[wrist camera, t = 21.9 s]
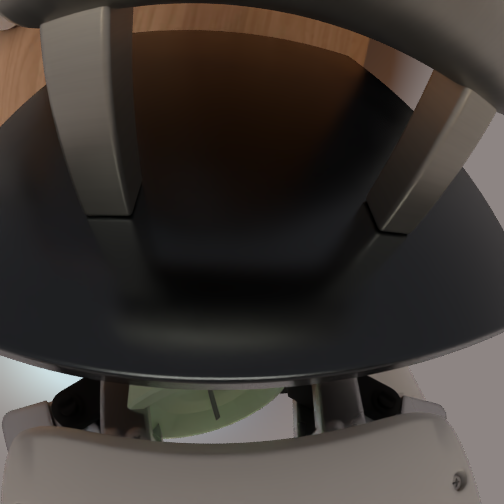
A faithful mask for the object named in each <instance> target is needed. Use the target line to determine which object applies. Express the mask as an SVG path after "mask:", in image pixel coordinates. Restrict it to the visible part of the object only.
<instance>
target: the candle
mask: <svg viewBox="0 0 504 504" xmlns="http://www.w3.org/2000/svg"><path fill="white" fill-rule="evenodd" d="M283 389H284V387H281V388H267V389H247V390H189V389H170V388H156V387H145V386H136V385H129V394H128V404H127V407H128V408H129V409H145V408H146V407H148V406H150V414H151V422H152V430H153V429H154V428H155V427H156V426H157V425H158V423H159V425H160V429H161V432H162V436H163V439H169V438H181V437H188V436H194V435H199V434H203V433H207V432H210V431H214V430H217V429H220V428H223V427H225V426H228V425H231V424H233V423H235V422H237V421H240V420H242V419H244V418H246V417H248V416H249V415H251V414H253V413H255V412H256V411H258V410H260V409H261V408H263V407H264V406H265V405H267V404H268V403H269V402H271V401H272V400H273V399H274V398H275V397H276V396H277V395H278V394H279V393H280V392H281V391H282V390H283Z"/></svg>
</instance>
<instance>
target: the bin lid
mask: <svg viewBox="0 0 504 504" xmlns="http://www.w3.org/2000/svg"><path fill="white" fill-rule="evenodd" d="M173 3H210V4H227V5H239V6H248V7H256V8H262V9H269V10H275V11H280V12H285V13H290V14H295V15H299V16H303V17H307V18H311V19H315V20H319V21H322V22H326V23H329V24H332V25H336V26H339V27H342V28H345V29H348V30H350V31H353V32H356V33H359V34H361V35H364V36H367V37H369V38H372V39H374V40H376V41H379V42H381V43H383V44H386V45H388V46H390V47H392V48H394V49H397V50H399V51H401V52H403V53H405V54H407V55H409V56H411V57H413V58H415V59H416V60H418V61H420V62H422V63H424V64H425V65H427V66H429V67H431V68H432V69H434V70H433V72H432V75H431V77H430V79H429V81H428V84H427V85H426V88H425V90H424V92H423V94H422V96H421V98H420V100H419V102H418V104H417V106H416V108H415V110H414V111H413V110H412V109H411V108H410V107H409V106H408V105H407V104H406V103H405V102H404V101H402V99H400V98H399V97H398V96H397V95H396V94H395V93H394V92H393V91H392V90H390V89H389V88H388V87H387V86H386V85H385V84H383V83H382V82H381V81H380V80H379V79H377V78H376V77H375V76H374V75H373V74H371V73H370V72H369V71H367V70H366V69H365V68H364V67H362V66H361V65H360V64H358V63H357V62H356V61H354V60H353V59H352V58H350V57H349V56H346V55H343V54H340V53H337V52H334V51H330V50H327V49H323V48H319V47H315V46H311V45H307V44H303V43H299V42H294V41H289V40H284V39H279V38H273V37H267V36H260V35H253V34H245V33H236V32H224V31H206V30H168V31H150V32H138V33H132V25H133V7H136V6H145V5H156V4H173ZM0 15H1V16H2V17H3V18H5V19H6V20H7V21H9V22H11V23H13V24H15V25H18V26H22V27H27V28H40V37H41V48H42V58H43V66H44V73H45V79H46V85H45V86H44V87H43V88H41V89H40V90H39V91H38V92H37V93H35V94H34V95H33V96H32V97H31V98H30V99H29V100H27V101H26V102H25V103H24V104H23V105H22V106H21V107H20V108H19V109H18V110H17V111H16V112H15V113H14V114H13V115H12V116H11V117H10V118H9V119H8V120H7V121H6V122H5V123H4V124H3V125H2V126H1V127H0V355H1V356H4V357H7V358H10V359H13V360H16V361H20V362H23V363H26V364H29V365H33V366H37V367H40V368H44V369H48V370H52V371H56V372H60V373H64V374H69V375H73V376H78V377H83V378H89V379H94V380H100V381H106V382H113V383H120V384H127V385H136V386H145V387H156V388H170V389H189V390H247V389H267V388H281V387H292V386H302V385H311V384H318V383H326V382H333V381H339V380H345V379H351V378H356V377H362V376H367V375H372V374H376V373H381V372H386V371H390V370H394V369H398V368H402V367H406V366H410V365H413V364H417V363H420V362H424V361H428V360H430V359H434V358H437V357H440V356H444V355H446V354H450V353H453V352H455V351H458V350H461V349H464V348H467V347H469V346H472V345H474V344H477V343H479V342H482V341H484V340H487V339H489V338H492V337H494V336H496V335H498V334H501V333H503V332H504V231H503V229H502V227H501V225H500V223H499V222H498V220H497V218H496V216H495V215H494V213H493V211H492V210H491V208H490V206H489V205H488V203H487V202H486V200H485V198H484V197H483V195H482V194H481V192H480V191H479V189H478V188H477V186H476V185H475V184H474V182H473V181H472V179H471V178H470V176H469V175H468V174H467V172H466V171H465V170H464V168H463V167H462V166H463V165H464V164H465V162H466V161H467V159H468V158H469V156H470V154H471V153H472V151H473V150H474V148H475V147H476V145H477V144H478V142H479V140H480V139H481V137H482V136H483V134H484V133H485V131H486V129H487V127H488V126H489V124H490V122H491V121H492V119H493V117H494V115H495V113H496V112H498V113H501V114H503V115H504V0H0Z"/></svg>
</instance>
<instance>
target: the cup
mask: <svg viewBox="0 0 504 504" xmlns="http://www.w3.org/2000/svg"><path fill="white" fill-rule="evenodd" d="M13 26H15V24H13V23H11V22H9V21H7V20H6V19H5V18H3V17H2V16H1V15H0V30H7V29H10V28H12V27H13Z"/></svg>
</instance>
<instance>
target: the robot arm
mask: <svg viewBox="0 0 504 504" xmlns="http://www.w3.org/2000/svg"><path fill="white" fill-rule="evenodd" d="M280 393H288V397H290V398H292V399H293V426H294V438H289V439H281V440H273V441H263V442H250V443H229V444H228V443H227V444H195V443H193V444H192V443H172V442H163V436H162V432H161V429H160V425H159V423H158V425H157V426H156V427H155V428H154V429H153V430H152V422H151V414H150V406H148V407H146V408H145V409H129V408H128V407H127V404H128V394H129V385H127V384H120V383H113V382H106V381H100V380H94V379H89V378H82V379H81V380H79V381H77V382H76V383H74V384H72V385H71V386H69V387H68V388H66V389H64V390H62V391H61V392H59V393H58V394H57V395H56V396H55V397H54V399H53V401H52V402H49V403H48V402H47V401H43V402H40V403H37V404H33V405H30V406H26V407H23V408H19V409H16V410H12V411H10V412H8V413H6V415H5V416H4V417H3V421H2V429H3V433H4V438H5V442H6V446H7V450H8V455H7V459H6V463H5V468H4V475H3V483H2V497H1V498H2V499H1V501H2V502H1V504H481V500H480V496H479V492H478V489H477V485H476V482H475V479H474V476H473V473H472V470H471V467H470V464H469V461H468V458H467V456H466V454H465V451H464V449H463V446H462V444H461V442H460V440H459V438H458V436H457V434H456V433H455V431H454V429H453V428H452V426H451V425H450V424H449V422H448V421H447V420H446V412H445V410H444V408H442V406H441V405H439V404H436V403H432V402H428V401H426V400H425V398H424V395H423V394H422V392H421V390H420V388H419V386H418V384H417V382H416V380H415V378H414V376H413V374H412V372H411V370H410V369H409V367H408V366H406V367H402V368H398V369H394V370H390V371H386V372H381V373H376V374H372V375H367V376H362V377H356V378H351V379H345V380H339V381H333V382H326V383H318V384H311V385H302V386H292V387H284V389H283V390H282V391H281V392H280Z"/></svg>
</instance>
